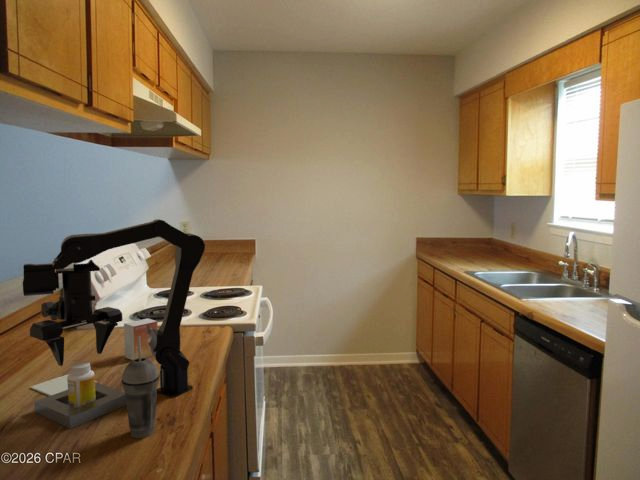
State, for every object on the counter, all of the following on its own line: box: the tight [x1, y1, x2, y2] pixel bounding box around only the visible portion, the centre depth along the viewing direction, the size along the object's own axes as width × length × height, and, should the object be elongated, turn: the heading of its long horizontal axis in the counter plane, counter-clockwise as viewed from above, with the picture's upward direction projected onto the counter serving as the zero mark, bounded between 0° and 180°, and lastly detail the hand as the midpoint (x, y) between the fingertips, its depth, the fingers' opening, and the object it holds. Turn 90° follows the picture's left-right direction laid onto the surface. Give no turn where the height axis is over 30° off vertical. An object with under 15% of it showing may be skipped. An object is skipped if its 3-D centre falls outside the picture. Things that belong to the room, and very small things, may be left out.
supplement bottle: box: [67, 361, 96, 408], centre depth 110 cm, size 6×6×10 cm
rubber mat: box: [30, 373, 98, 397], centre depth 123 cm, size 11×11×1 cm
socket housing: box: [33, 381, 127, 429], centre depth 111 cm, size 14×14×2 cm
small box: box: [123, 317, 158, 361], centre depth 145 cm, size 8×6×10 cm
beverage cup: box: [120, 336, 160, 439], centre depth 99 cm, size 7×7×20 cm
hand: (80, 359), depth 110 cm, fingers open, 9 cm apart
